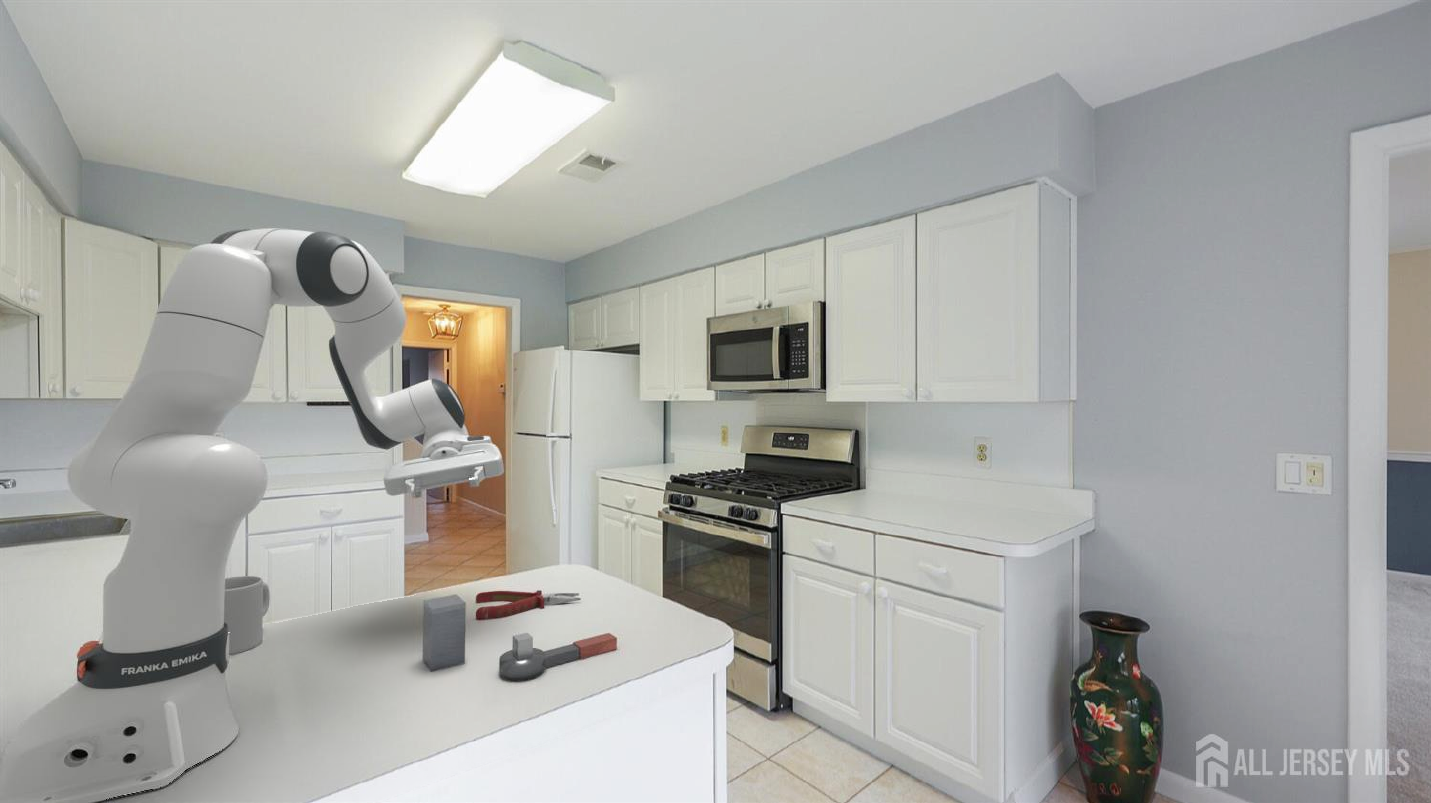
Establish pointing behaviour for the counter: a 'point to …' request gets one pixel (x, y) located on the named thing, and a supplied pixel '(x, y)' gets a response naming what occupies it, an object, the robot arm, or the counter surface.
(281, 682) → the counter surface
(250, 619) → the mug
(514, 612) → the pliers
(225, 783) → the counter surface
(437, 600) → the grey square pillar
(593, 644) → the ratchet
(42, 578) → the counter surface
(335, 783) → the counter surface
